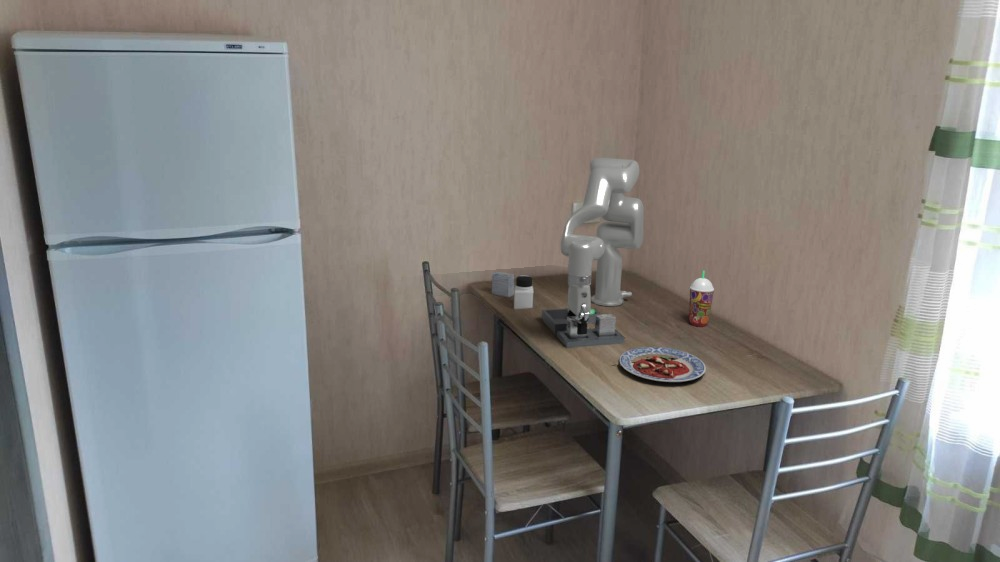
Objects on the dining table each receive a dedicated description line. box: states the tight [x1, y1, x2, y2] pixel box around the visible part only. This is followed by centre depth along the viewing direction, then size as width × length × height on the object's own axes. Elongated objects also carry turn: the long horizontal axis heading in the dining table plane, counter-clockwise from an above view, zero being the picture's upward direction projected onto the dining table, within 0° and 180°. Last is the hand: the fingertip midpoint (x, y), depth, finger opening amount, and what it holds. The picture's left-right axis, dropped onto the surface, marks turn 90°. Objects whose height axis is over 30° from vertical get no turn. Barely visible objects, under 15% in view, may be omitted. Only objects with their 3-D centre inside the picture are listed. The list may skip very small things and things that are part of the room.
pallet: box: [556, 327, 626, 349], centre depth 239 cm, size 20×10×3 cm, turn 104°
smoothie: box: [688, 270, 715, 328], centre depth 256 cm, size 8×8×20 cm
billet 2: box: [594, 313, 617, 337], centre depth 239 cm, size 6×4×8 cm
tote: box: [541, 307, 569, 335], centre depth 252 cm, size 11×15×4 cm
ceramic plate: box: [619, 346, 707, 383], centre depth 220 cm, size 26×26×3 cm
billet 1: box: [566, 316, 586, 339], centre depth 237 cm, size 6×4×8 cm
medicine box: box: [491, 271, 515, 298], centre depth 286 cm, size 8×4×9 cm, turn 58°
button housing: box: [579, 307, 602, 325], centre depth 257 cm, size 7×7×4 cm
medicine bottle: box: [513, 275, 535, 310], centre depth 271 cm, size 7×7×12 cm
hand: (576, 328), depth 237 cm, fingers open, 9 cm apart
